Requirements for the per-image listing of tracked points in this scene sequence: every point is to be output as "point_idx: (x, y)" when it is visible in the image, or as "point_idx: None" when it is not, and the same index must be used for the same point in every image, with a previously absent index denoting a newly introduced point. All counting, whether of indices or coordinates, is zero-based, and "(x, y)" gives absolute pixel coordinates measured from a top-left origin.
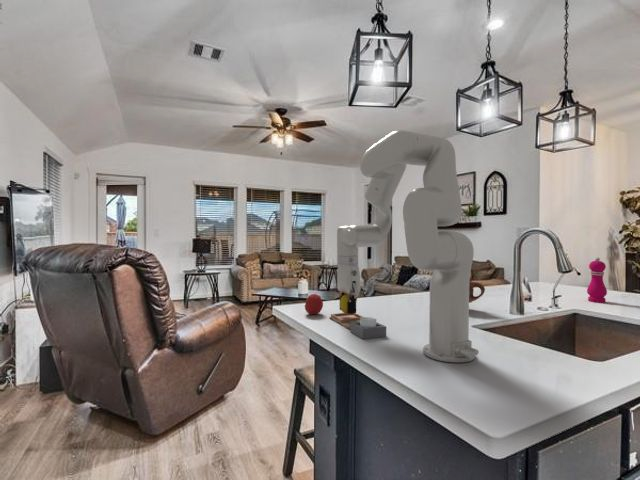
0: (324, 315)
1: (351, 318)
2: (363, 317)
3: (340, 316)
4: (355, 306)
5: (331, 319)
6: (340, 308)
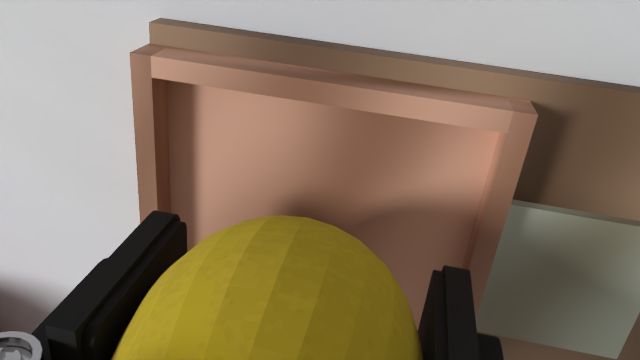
0: (21, 285)
1: None
2: (530, 134)
3: None
4: (474, 353)
5: None
6: None
